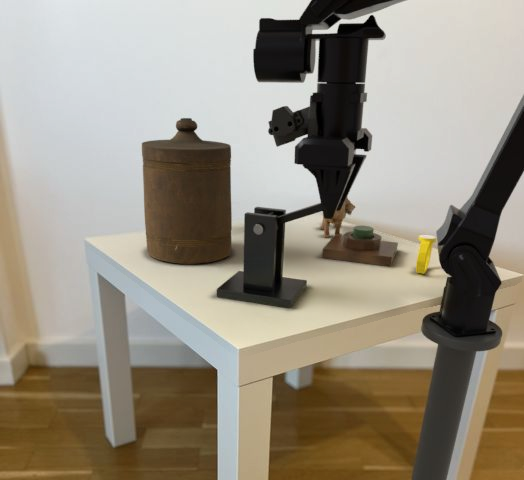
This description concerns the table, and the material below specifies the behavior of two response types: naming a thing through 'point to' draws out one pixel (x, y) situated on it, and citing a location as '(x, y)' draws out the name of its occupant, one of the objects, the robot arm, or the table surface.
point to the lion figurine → (337, 218)
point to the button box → (361, 249)
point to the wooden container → (187, 197)
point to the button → (363, 232)
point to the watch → (424, 252)
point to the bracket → (263, 264)
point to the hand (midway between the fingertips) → (332, 214)
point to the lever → (298, 214)
